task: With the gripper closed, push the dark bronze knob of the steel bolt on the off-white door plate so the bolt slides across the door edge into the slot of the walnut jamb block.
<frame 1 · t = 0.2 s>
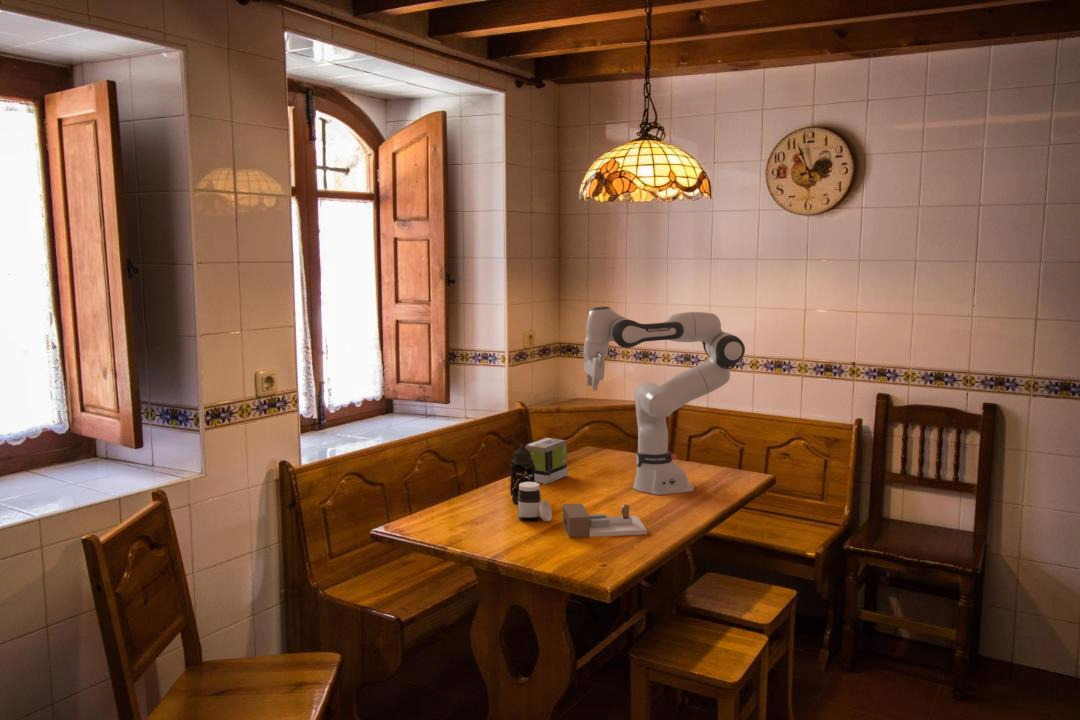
hand: (591, 387, 318), 39 cm above the table, tool pointing down, fingers open, 8 cm apart
door plate: (604, 528, 280), on the table
tea box: (546, 479, 339), on the table
bolt: (616, 514, 280), point 5 cm above the table, slide at 0.0 cm
spread jar: (534, 519, 291), on the table
lantern: (522, 501, 310), on the table
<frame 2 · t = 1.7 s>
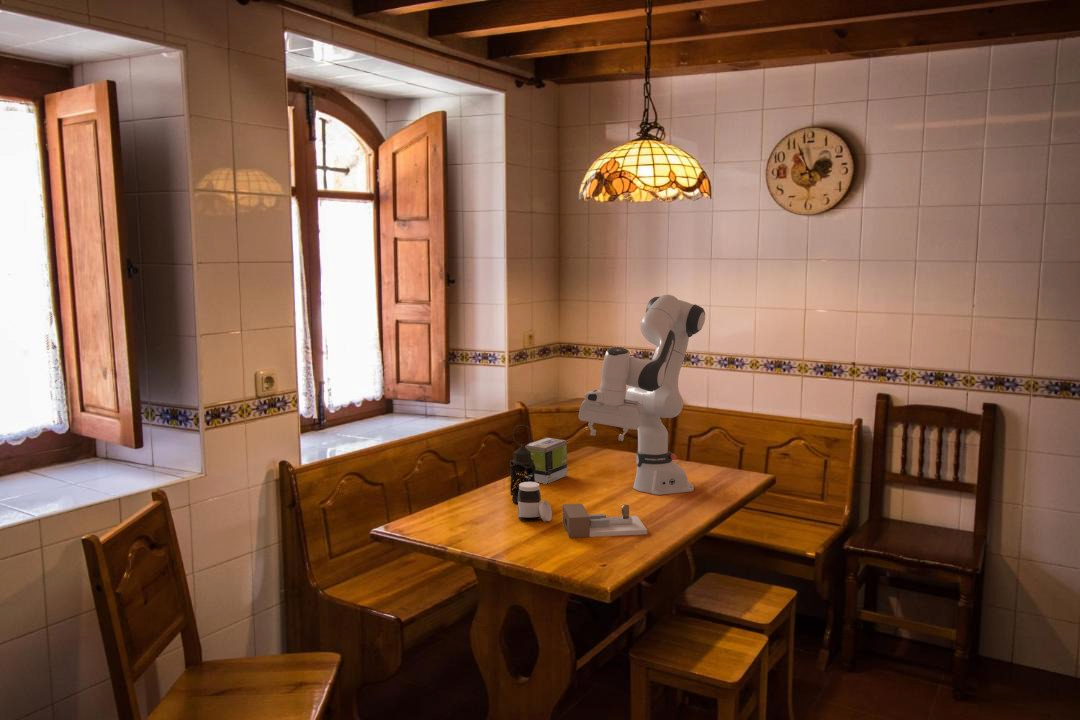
hand: (606, 437, 287), 28 cm above the table, tool pointing down, fingers open, 8 cm apart
nothing on the table moved.
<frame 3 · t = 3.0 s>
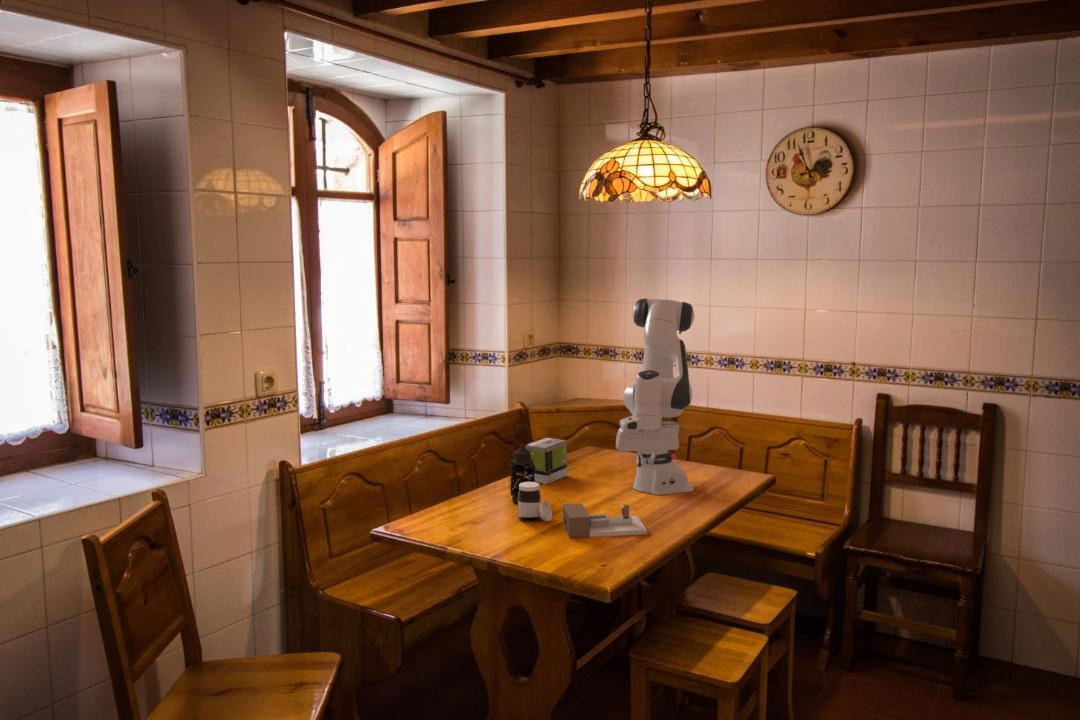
hand: (647, 463, 279), 21 cm above the table, tool pointing down, fingers closed
nothing on the table moved.
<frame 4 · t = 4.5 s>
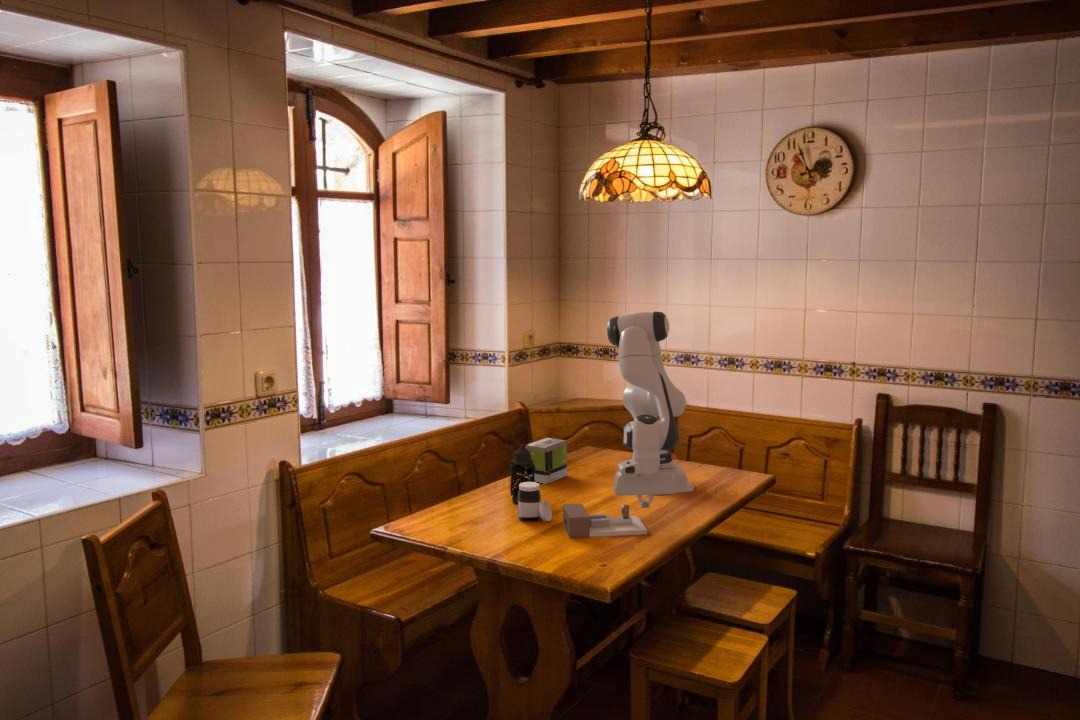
hand: (644, 507, 281), 7 cm above the table, tool pointing down, fingers closed
nothing on the table moved.
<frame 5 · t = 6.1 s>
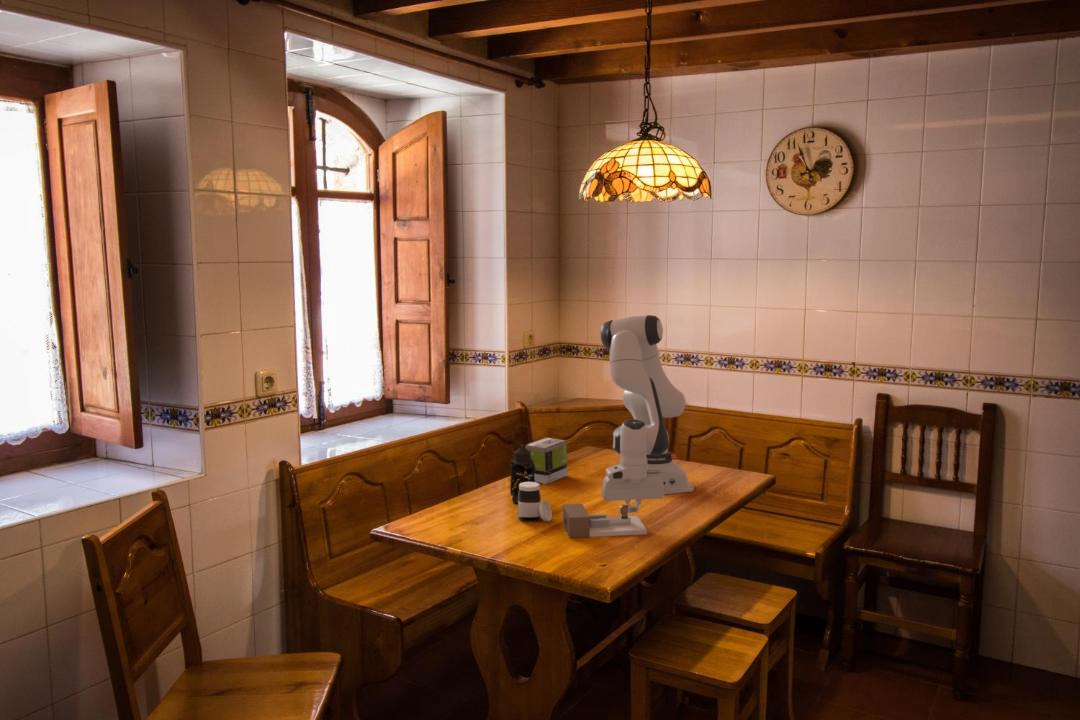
hand: (632, 512, 281), 5 cm above the table, tool pointing down, fingers closed
bolt: (614, 514, 280), point 5 cm above the table, slide at 0.5 cm, touching gripper
everything else where it was.
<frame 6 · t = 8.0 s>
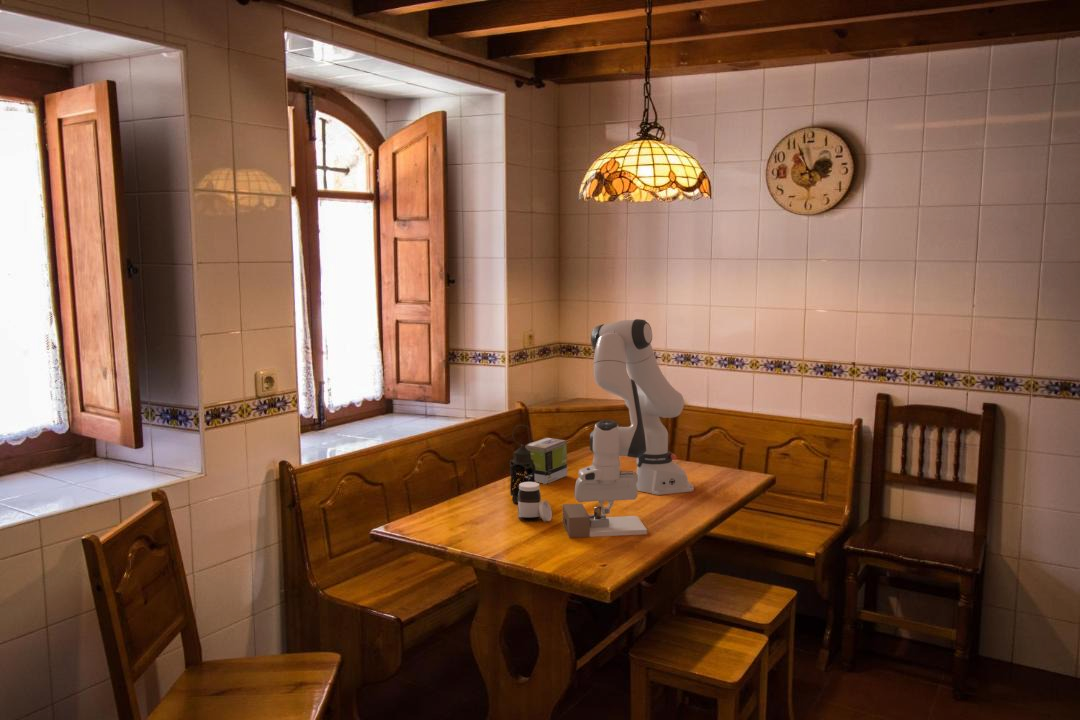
hand: (605, 513, 280), 5 cm above the table, tool pointing down, fingers closed
bolt: (588, 515, 279), point 5 cm above the table, slide at 9.1 cm, touching gripper
everything else where it was.
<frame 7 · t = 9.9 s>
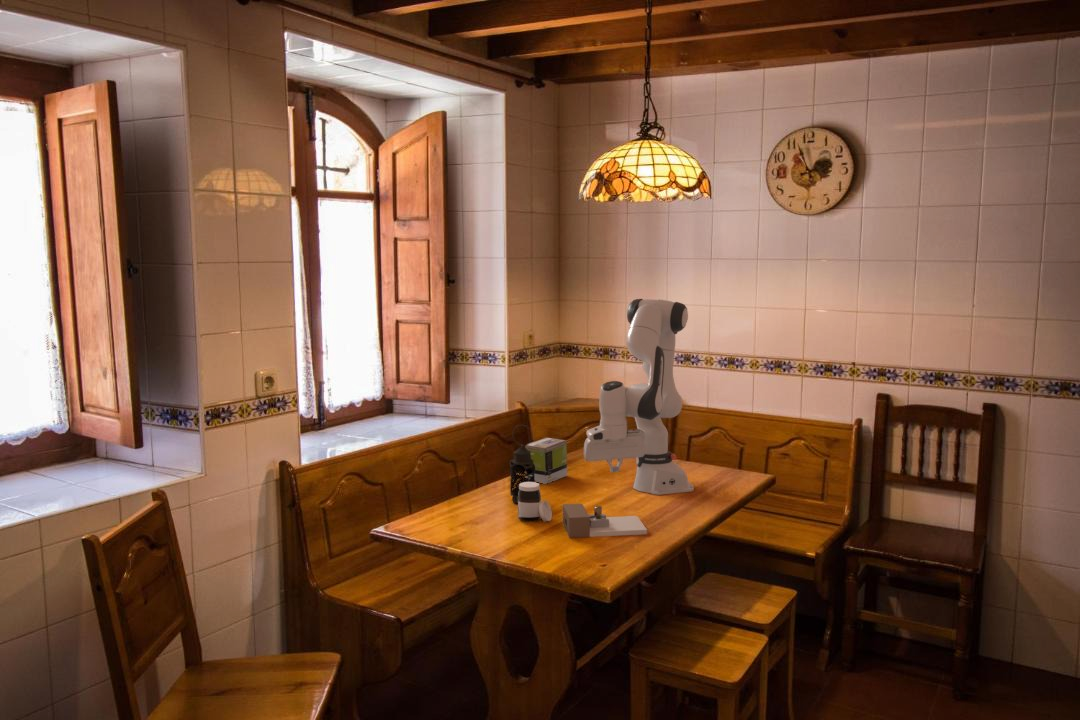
hand: (615, 471, 287), 17 cm above the table, tool pointing down, fingers closed
bolt: (588, 515, 279), point 4 cm above the table, slide at 9.0 cm
everything else where it was.
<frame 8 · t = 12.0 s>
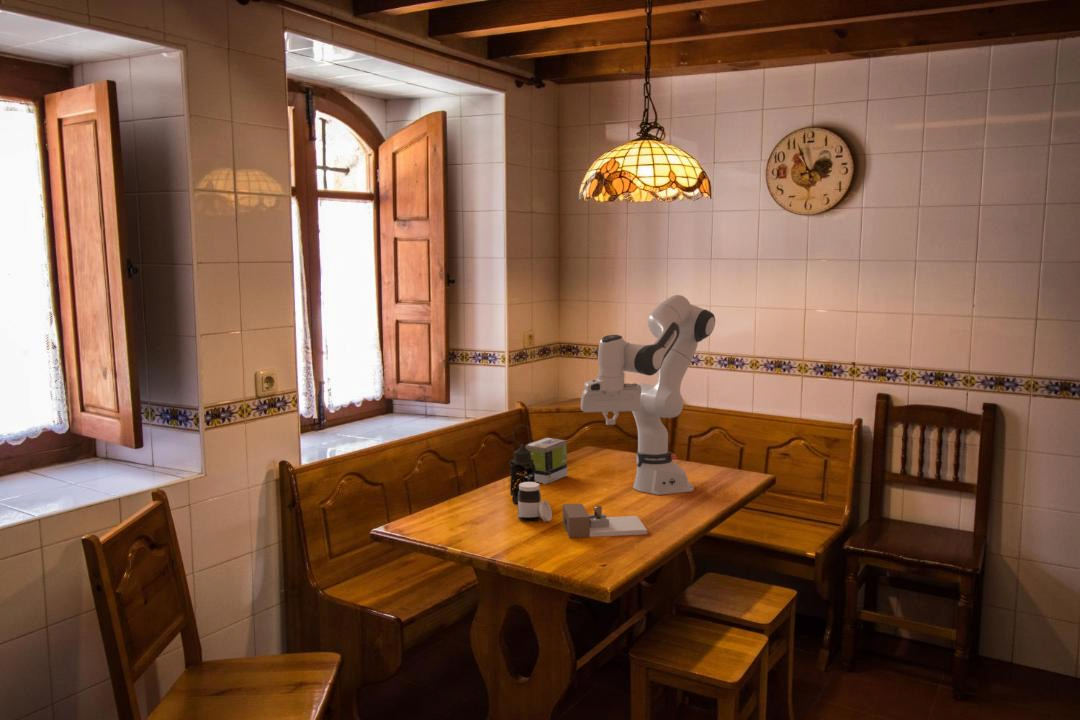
hand: (610, 424, 291), 31 cm above the table, tool pointing down, fingers closed
nothing on the table moved.
at the end: bolt slide at 9.0 cm; spread jar moved 0.3 cm from its start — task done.
